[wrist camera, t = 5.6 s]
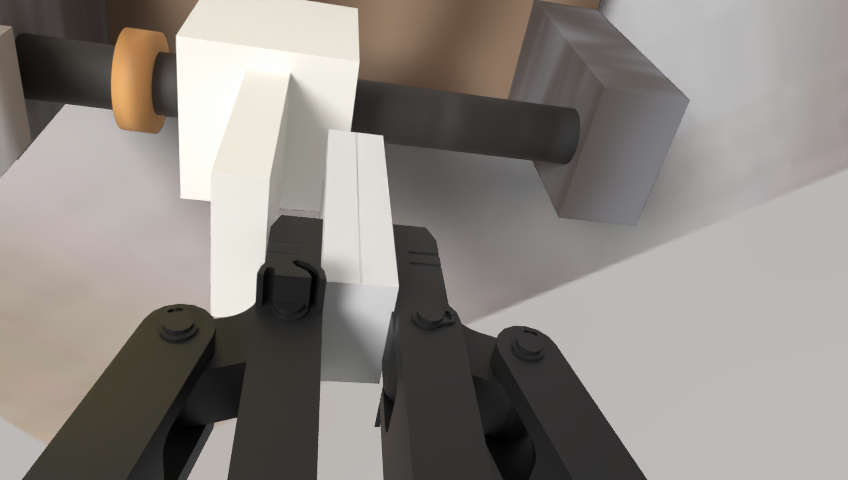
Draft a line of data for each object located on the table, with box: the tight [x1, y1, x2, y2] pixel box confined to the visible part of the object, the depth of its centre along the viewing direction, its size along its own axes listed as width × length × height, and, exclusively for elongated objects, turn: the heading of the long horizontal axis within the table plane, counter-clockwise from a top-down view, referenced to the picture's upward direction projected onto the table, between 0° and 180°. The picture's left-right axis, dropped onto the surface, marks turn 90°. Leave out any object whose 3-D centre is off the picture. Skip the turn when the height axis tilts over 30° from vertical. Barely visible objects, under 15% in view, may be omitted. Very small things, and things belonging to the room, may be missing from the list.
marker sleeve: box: [176, 0, 360, 317], centre depth 20 cm, size 5×5×11 cm
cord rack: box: [0, 0, 690, 226], centre depth 24 cm, size 24×9×14 cm, turn 80°
